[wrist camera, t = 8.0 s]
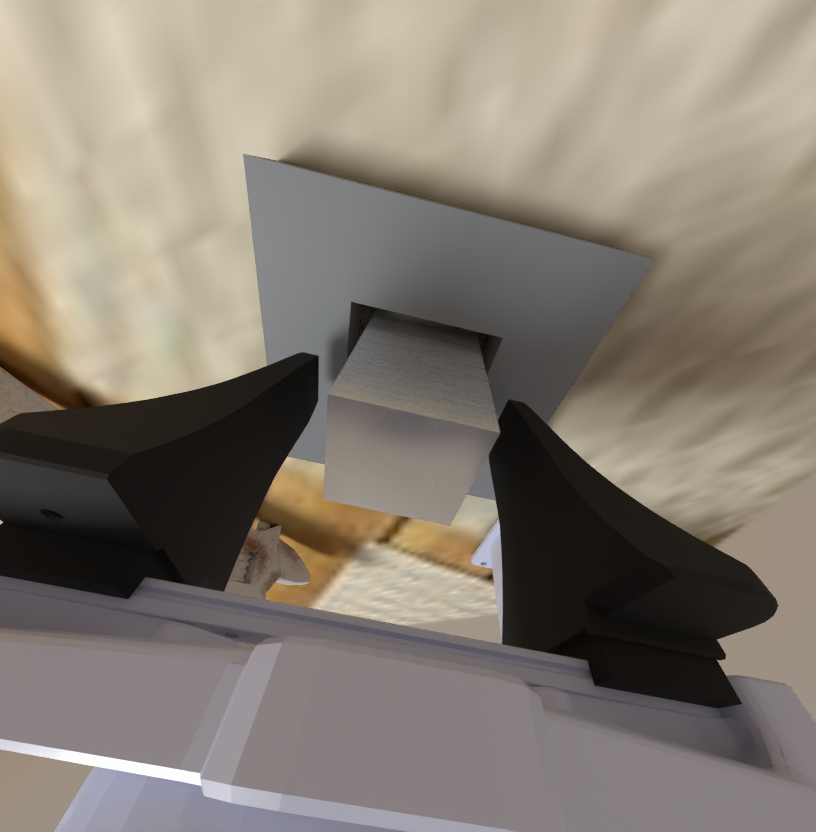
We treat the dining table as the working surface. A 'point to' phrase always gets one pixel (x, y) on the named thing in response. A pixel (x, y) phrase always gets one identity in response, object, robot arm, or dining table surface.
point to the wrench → (262, 548)
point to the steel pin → (409, 419)
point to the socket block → (426, 285)
